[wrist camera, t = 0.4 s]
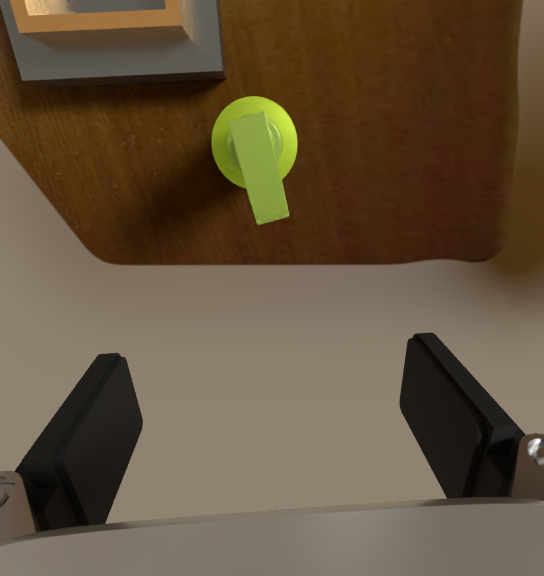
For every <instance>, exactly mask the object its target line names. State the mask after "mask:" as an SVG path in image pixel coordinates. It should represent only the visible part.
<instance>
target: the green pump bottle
mask: <svg viewBox="0 0 544 576" xmlns="http://www.w3.org/2000/svg"><path fill="white" fill-rule="evenodd" d="M212 152H213V156H214V159H215V162H216V164H217V166H218V168H219V169H220V171H221V172H222V173H223V175H224V176H225V177H226V178H227V179H229V180H230V181H231V182H233V183H234V184H236V185H238V186H240V187H243V188H246V189H247V192H248V196H249V199H250V202H251V206H252V209H253V212H254V216H255V219H256V222H257V224H258V225H260V224H264V223H268V222H271V221H275V220H279V219H282V218H286V217H289V211H288V206H287V202H286V197H285V193H284V188H283V184H282V179H283V178H284V177H285V176H286V175H287V173H288V172H289V171H290V169H291V167H292V165H293V163H294V161H295V158H296V154H297V134H296V130H295V127H294V124H293V122H292V120H291V118H290V117H289V115H288V114H287V113H286V111H285V110H284V109H283V108H282V107H281V106H279V105H278V104H277V103H275V102H273V101H271V100H269V99H266V98H263V97H256V96H251V97H244V98H241V99H238V100H236V101H234V102H232V103H231V104H230V105H228V106H227V107H226V108H225V109H224V110H223V111H222V112H221V114H220V115H219V117H218V119H217V120H216V123H215V125H214V128H213V132H212Z"/></svg>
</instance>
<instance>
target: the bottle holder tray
mask: <svg viewBox="0 0 544 576" xmlns="http://www.w3.org/2000/svg"><path fill="white" fill-rule="evenodd" d="M0 6H1V10H2V13H3V17H4V20H5V23H6V27H7V30H8V34H9V37H10V41H11V44H12V47H13V51H14V54H15V58H16V61H17V65H18V68H19V71H20V75H21V78H22V81H25V82H29V83H32V84H36V85H40V86H44V87H47V88H57V87H76V86H96V85H116V84H136V83H156V82H176V81H195V80H215V79H226V68H225V57H224V46H223V34H222V23H221V12H220V0H0Z"/></svg>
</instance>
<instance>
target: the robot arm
mask: <svg viewBox="0 0 544 576" xmlns="http://www.w3.org/2000/svg"><path fill="white" fill-rule="evenodd" d="M400 409H401V411H402V414H403V416H404V417H405V419H406V421H407V423H408V425H409V427H410V429H411V431H412V433H413V435H414V436H415V438H416V440H417V442H418V444H419V446H420V448H421V450H422V452H423V454H424V455H425V457H426V459H427V461H428V463H429V465H430V467H431V469H432V471H433V472H434V474H435V476H436V478H437V480H438V482H439V484H440V486H441V487H442V489H443V491H444V493H445V495H446V497H447V499H430V500H412V501H398V502H384V503H368V504H353V505H339V506H324V507H311V508H298V509H283V510H270V511H257V512H243V513H230V514H217V515H205V516H191V517H179V518H166V519H154V520H141V521H129V522H119V523H109V524H105V522H106V520H107V517H108V514H109V512H110V510H111V507H112V505H113V502H114V499H115V497H116V494H117V492H118V489H119V486H120V484H121V481H122V479H123V476H124V474H125V471H126V469H127V466H128V464H129V461H130V458H131V456H132V453H133V451H134V448H135V446H136V443H137V441H138V438H139V435H140V433H141V430H142V425H143V420H142V415H141V412H140V408H139V404H138V401H137V397H136V393H135V390H134V386H133V382H132V378H131V375H130V371H129V368H128V364H127V361H126V358H125V357H121V356H120V354H119V353H109V354H99V355H98V356H97V357H96V359H95V360H94V361H93V363H92V364H91V365H90V367H89V368H88V370H87V371H86V372H85V374H84V375H83V377H82V378H81V379H80V381H79V382H78V383H77V385H76V386H75V388H74V389H73V390H72V392H71V393H70V394H69V396H68V397H67V399H66V400H65V401H64V403H63V404H62V406H61V407H60V408H59V410H58V411H57V412H56V414H55V415H54V417H53V418H52V419H51V421H50V422H49V423H48V425H47V426H46V428H45V429H44V430H43V432H42V433H41V435H40V436H39V437H38V439H37V440H36V441H35V443H34V444H33V446H32V447H31V449H30V450H29V451H28V453H27V454H26V455H25V457H24V458H23V459H22V462H21V463H20V465H19V466H18V467H17V469H16V470H15V471H2V472H0V576H544V434H537V433H535V434H528V435H525V433H524V432H523V431H522V430H521V429H520V428H519V427H518V426H517V424H516V423H515V422H514V421H513V420H512V419H511V418H510V417H509V416H508V415H507V413H506V412H505V411H504V410H503V409H502V408H501V407H500V406H499V405H498V403H497V402H496V401H495V400H494V399H493V398H492V397H491V396H490V395H489V393H488V392H487V391H486V390H485V389H484V388H483V387H482V386H481V385H480V383H478V381H477V380H476V379H475V378H474V377H473V376H472V375H471V374H470V372H469V371H468V370H467V369H466V368H465V367H464V366H463V365H462V364H461V363H460V361H459V360H458V359H457V358H456V357H455V356H454V355H453V354H452V352H451V351H450V350H449V349H448V348H447V347H446V346H445V345H444V344H443V343H442V341H441V340H439V338H438V337H437V336H436V335H435V334H434V333H418V334H414V335H413V338H410V339H409V340H408V342H407V351H406V357H405V364H404V372H403V379H402V387H401V394H400Z"/></svg>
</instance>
